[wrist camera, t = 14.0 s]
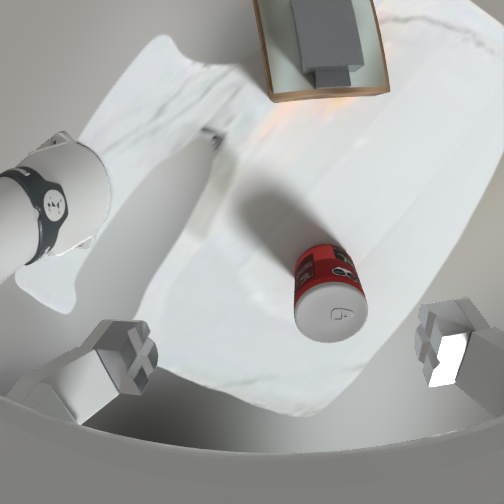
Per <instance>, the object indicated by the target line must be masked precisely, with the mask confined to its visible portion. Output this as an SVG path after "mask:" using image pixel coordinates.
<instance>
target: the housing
mask: <svg viewBox="0 0 504 504" xmlns="http://www.w3.org/2000/svg"><path fill="white" fill-rule="evenodd" d="M289 4H290V9H291V14H292V19H293V24H294V29H295V34H296V39H297V45H298V50H299V56H300V62H301V68H302V74H303V75H312V74H313V76H314V82H315V89H316V90H326V89H345V88H348V87H350V86H351V81H350V74H349V72H356V71H357V70H358V69H360V68H361V67H363V66H364V65H365V64H364V58H363V52H362V47H361V42H360V37H359V32H358V27H357V22H356V18H355V13H354V9H353V5H352V1H351V0H289Z"/></svg>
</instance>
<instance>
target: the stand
mask: <svg viewBox="0 0 504 504" xmlns="http://www.w3.org/2000/svg"><path fill="white" fill-rule="evenodd" d="M351 1H352V5H353V9H354V13H355V18H356V22H357V27H358V32H359V37H360V42H361V47H362V52H363V58H364V64H365V65H364V66H363V67H361V68H360V69H358V70H357V71H356V72H349V74H350V81H351V86H350V87H348V88H345V89H326V90H316V89H315V82H314V76H313V74H312V75H303V74H302V68H301V62H300V56H299V50H298V45H297V39H296V34H295V29H294V24H293V19H292V14H291V9H290V4H289V0H253V4H254V10H255V15H256V20H257V25H258V31H259V37H260V43H261V49H262V55H263V60H264V66H265V73H266V79H267V85H268V91H269V98H270V100H271V101H272V102H274V103H278V102H287V101H296V100H307V99H319V98H334V97H355V96H376V95H380V94H383V93H387V92H390V85H389V78H388V72H387V65H386V60H385V54H384V49H383V43H382V38H381V33H380V29H379V24H378V20H377V16H376V11H375V7H374V3H373V0H351Z"/></svg>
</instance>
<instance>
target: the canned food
mask: <svg viewBox="0 0 504 504" xmlns="http://www.w3.org/2000/svg"><path fill="white" fill-rule="evenodd" d="M367 316H368V306H367V301H366V298H365V294H364V292H363V289H362V286H361V283H360V280H359V277H358V275H357V272H356V269H355V266H354V264H353V261H352V259H351V257H350V256H349V255H348V254H347V253H346V252H345V251H343V250H342V249H340V248H338V247H336V246H332V245H318V246H315V247H313V248H310V249H309V250H307V251H306V252H305V253H304V254H303V255H302V256H301V257H300V259H299V260H298V262H297V264H296V268H295V290H294V318H295V323H296V325H297V327H298V329H299V330H300V332H301V333H302V334H303V335H305V336H306V337H308V338H309V339H311V340H314V341H317V342H322V343H335V342H340V341H343V340H346V339H348V338H350V337H352V336H353V335H355V334H356V333H357V332H358V331H360V329H361V328H362V327H363V326H364V324H365V322H366V320H367Z"/></svg>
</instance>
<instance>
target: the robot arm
mask: <svg viewBox="0 0 504 504" xmlns="http://www.w3.org/2000/svg"><path fill="white" fill-rule="evenodd" d="M56 141H57V144H56ZM110 201H111V190H110V183H109V179H108V176H107V173H106V170H105V168H104V166H103V164H102V163H101V161H100V160H99V158H98V157H97V156H96V155H95V154H94V153H93V152H92V151H91V150H89V149H88V148H86V147H84V146H82V145H80V144H78V143H76V142H75V141H74V140H73V139H72V138H71V137H70V135H69V134H68V133H67V132H65V131H62V132H59V133H57V134H55V135H54V136H53V137H51V138H50V139H49V140H48V141H46V142H45V143H44V144H42V145H41V146H40V147H39V148H37V149H36V150H35V151H32V152H30V153H29V155H28V157H26V158H25V159H24V160H23V161H22V162H21V163H19V164H18V165H17V166H16V167H15V168H12V169H9V170H6V171H4V172H3V173H1V174H0V284H2V283H3V282H4V281H5V280H6V279H7V278H8V277H9V276H10V275H12V274H13V273H14V272H15V271H17V270H18V269H19V268H21V267H22V266H23V265H29V264H31V263H33V262H36V261H38V260H39V259H41V258H42V257H44V256H45V255H46V254H48V256H53V255H56V256H57V257H58V256H61V255H63V254H64V253H66V252H68V251H69V250H71V249H73V248H80V249H89V248H91V247H92V246H93V245H94V242H95V238H96V233H97V231H98V229H99V228H100V226H101V225H102V224H103V222H104V221H105V219H106V217H107V215H108V212H109V208H110ZM418 317H419V319H420V322H421V324H420V325H419V326H418V327H417V329H416V333H415V350H416V355H417V358H418V360H419V361H421V362H422V363H424V367H423V373H424V376H425V379H426V381H427V384H428V387H432V386H438V385H443V384H448V383H454V382H455V384H456V385H457V386H458V387H459V388H460V389H461V390H463V391H464V392H465V393H466V394H467V395H469V396H470V397H471V398H472V399H473V400H474V401H476V402H477V403H478V404H479V405H480V406H481V407H483V408H484V409H485V410H486V411H487V412H489V413H490V414H491V415H492V416H493V417H494V418H493V419H490V420H487V421H484V422H482V423H478V424H475V425H472V426H468V427H465V428H462V429H458V430H455V431H451V432H447V433H443V434H439V435H435V436H430V437H426V438H422V439H416V440H412V441H406V442H401V443H395V444H389V445H383V446H376V447H369V448H361V449H352V450H342V451H330V452H314V453H242V452H227V451H214V450H204V449H196V448H187V447H180V446H173V445H166V444H160V443H155V442H149V441H144V440H139V439H134V438H128V437H124V436H120V435H116V434H112V433H108V432H104V431H100V430H96V429H92V428H89V427H85V426H82V425H81V424H82V423H84V422H85V421H86V420H87V419H89V418H90V417H91V416H93V415H94V414H95V413H96V412H97V411H99V410H100V409H101V408H102V407H104V406H105V405H106V404H107V403H109V402H110V401H111V400H112V399H114V398H115V397H116V396H117V395H118V394H119V393H125V394H134V395H142V393H143V391H144V389H145V387H146V385H147V383H148V381H149V379H148V376H147V375H148V374H150V373H151V372H153V371H154V370H155V368H156V366H157V361H158V351H157V347H156V345H155V342H154V341H152V340H151V339H150V338H149V337H148V336H149V334H150V329H149V327H148V325H147V323H146V322H144V321H143V320H120V319H118V320H117V319H104V320H102V321H101V322H100V323H99V324H98V326H97V327H96V328H95V329H94V330H93V331H92V333H91V334H90V335H89V337H88V338H87V339H86V340H85V341H84V342H83V344H82V345H81V346H80V347H79V348H78V347H75V348H74V349H72V350H70V351H68V352H66V353H64V354H62V355H60V356H59V357H57V358H55V359H53V360H51V361H49V362H47V363H45V364H43V365H42V366H40V367H38V368H36V369H34V370H32V371H30V372H28V373H26V374H25V375H23V376H22V377H21V378H20V379H19V381H18V382H17V383H16V384H15V386H14V387H13V388H12V389H11V391H10V392H9V393H8V394H7V396H6V397H3V396H1V395H0V504H504V331H502V330H500V329H498V328H496V327H493V328H491V327H490V326H489V324H488V323H487V322H486V320H485V319H484V317H483V316H482V315H481V313H480V312H479V311H478V309H477V308H476V307H475V305H474V304H473V303H472V301H471V300H470V299H469V298H467V297H462V298H456V299H452V300H447V301H442V302H435V303H429V304H422V305H421V307H420V310H419V315H418Z"/></svg>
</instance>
